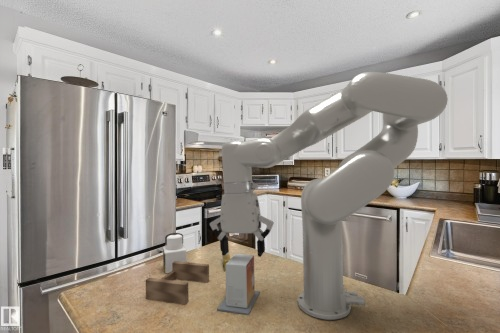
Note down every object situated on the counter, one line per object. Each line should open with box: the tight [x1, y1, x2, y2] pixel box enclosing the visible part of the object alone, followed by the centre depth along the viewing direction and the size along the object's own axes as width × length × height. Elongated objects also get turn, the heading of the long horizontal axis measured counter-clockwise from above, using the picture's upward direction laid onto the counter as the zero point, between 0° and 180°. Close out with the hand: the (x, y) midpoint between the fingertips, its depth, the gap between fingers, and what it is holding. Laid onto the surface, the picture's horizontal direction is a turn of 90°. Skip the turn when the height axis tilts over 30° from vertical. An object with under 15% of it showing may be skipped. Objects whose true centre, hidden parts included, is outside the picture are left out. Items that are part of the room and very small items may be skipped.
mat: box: [216, 290, 261, 316], centre depth 65 cm, size 8×11×1 cm
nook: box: [145, 261, 210, 305], centre depth 72 cm, size 12×14×5 cm
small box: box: [225, 253, 256, 308], centre depth 65 cm, size 8×6×10 cm
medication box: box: [221, 251, 231, 273], centre depth 90 cm, size 12×3×4 cm, turn 9°
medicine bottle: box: [162, 232, 187, 275], centre depth 87 cm, size 7×7×12 cm
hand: (242, 254), depth 65 cm, fingers open, 9 cm apart
